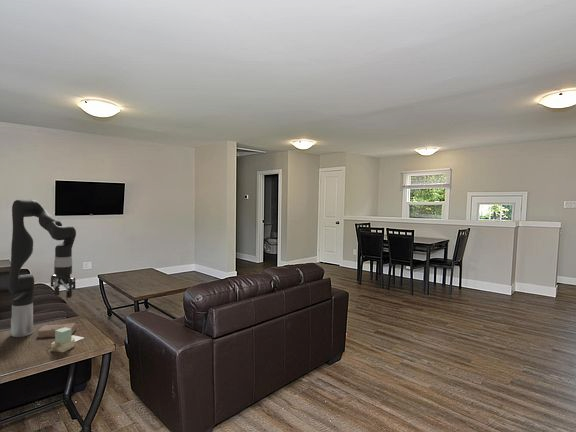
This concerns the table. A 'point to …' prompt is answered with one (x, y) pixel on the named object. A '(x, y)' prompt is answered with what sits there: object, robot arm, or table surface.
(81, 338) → the page
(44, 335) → the brick
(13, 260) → the robot arm
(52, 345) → the base block
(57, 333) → the green block
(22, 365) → the table surface
